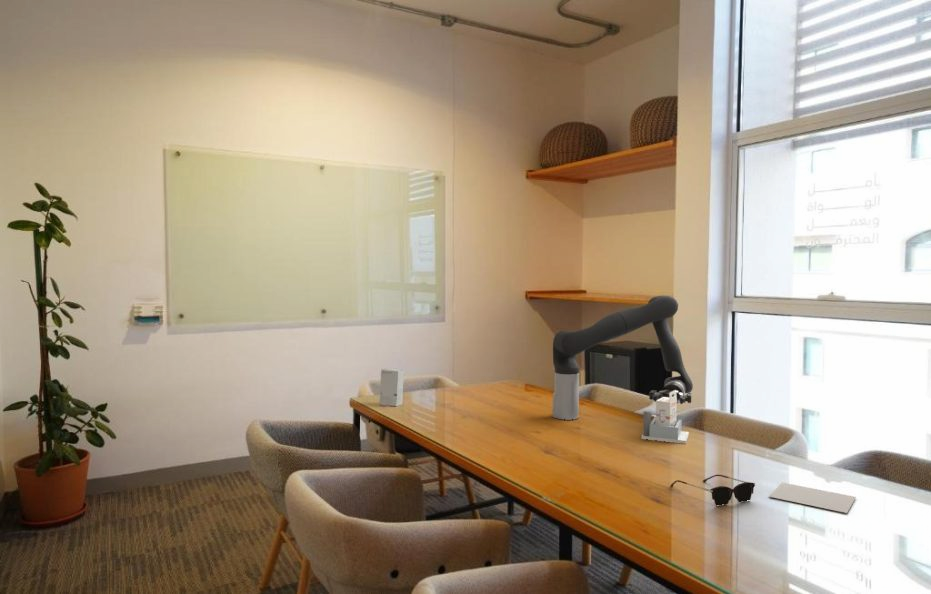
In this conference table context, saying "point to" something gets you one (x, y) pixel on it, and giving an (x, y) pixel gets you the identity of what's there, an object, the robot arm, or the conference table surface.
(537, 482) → the conference table surface
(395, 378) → the skincare box
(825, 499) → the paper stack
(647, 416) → the keeper cradle
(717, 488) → the sunglasses
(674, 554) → the conference table surface
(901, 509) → the conference table surface
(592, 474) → the conference table surface
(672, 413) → the ink cartridge box
